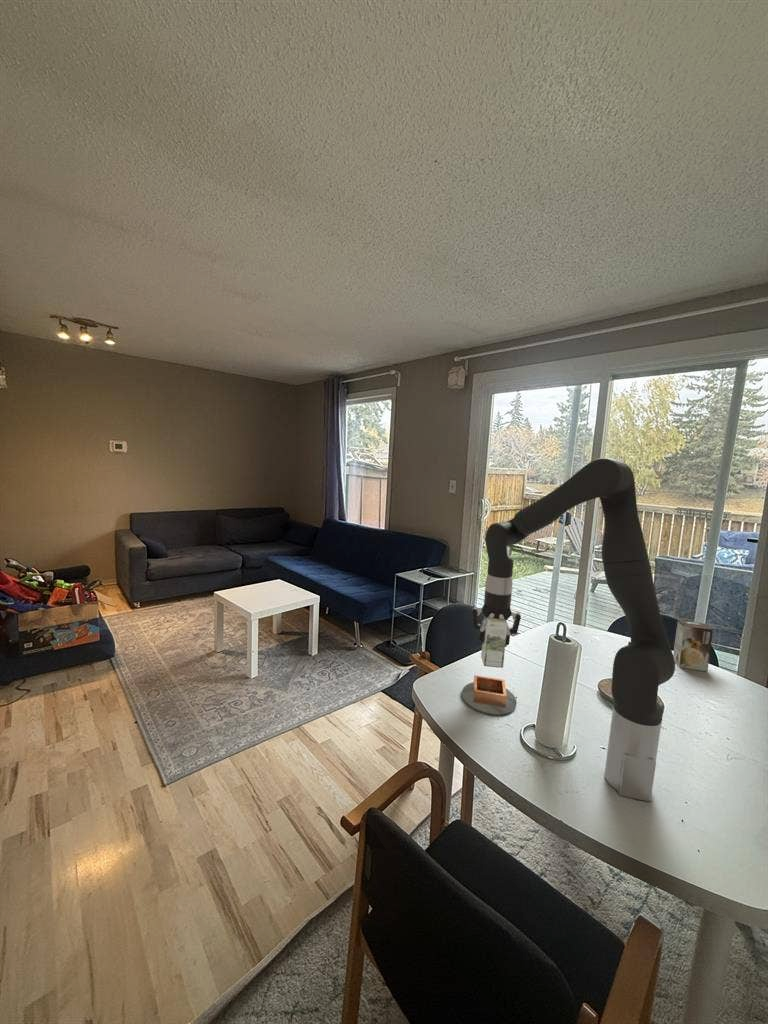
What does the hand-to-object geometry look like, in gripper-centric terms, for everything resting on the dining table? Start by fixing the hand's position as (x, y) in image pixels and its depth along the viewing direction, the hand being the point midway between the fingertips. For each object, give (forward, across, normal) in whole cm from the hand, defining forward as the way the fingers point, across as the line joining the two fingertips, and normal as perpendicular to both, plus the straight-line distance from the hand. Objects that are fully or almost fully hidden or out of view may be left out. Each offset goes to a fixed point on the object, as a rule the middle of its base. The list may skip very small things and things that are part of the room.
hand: (493, 643), depth 121 cm
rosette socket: (+18, 0, 0) cm, 18 cm away
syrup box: (+6, 0, 0) cm, 6 cm away
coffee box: (+18, +74, +45) cm, 88 cm away
